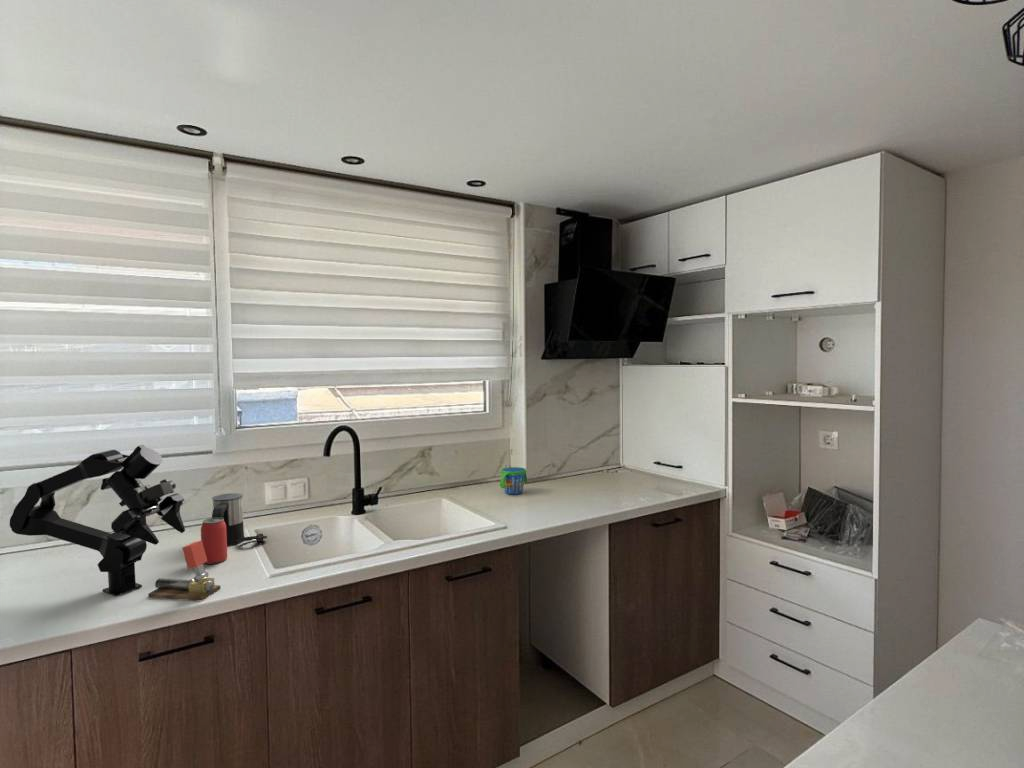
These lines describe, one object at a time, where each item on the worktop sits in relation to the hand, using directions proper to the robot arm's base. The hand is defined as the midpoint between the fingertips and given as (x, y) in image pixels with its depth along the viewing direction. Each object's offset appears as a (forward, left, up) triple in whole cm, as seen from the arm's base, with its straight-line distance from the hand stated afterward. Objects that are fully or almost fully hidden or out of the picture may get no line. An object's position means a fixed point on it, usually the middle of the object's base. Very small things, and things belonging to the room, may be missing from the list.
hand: (170, 537), depth 144 cm
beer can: (-11, +19, -14) cm, 26 cm away
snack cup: (+29, +128, -14) cm, 132 cm away
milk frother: (-19, +33, -14) cm, 41 cm away
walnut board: (+3, +1, -14) cm, 14 cm away
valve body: (+3, +1, -13) cm, 14 cm away
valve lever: (+8, +2, -10) cm, 13 cm away
